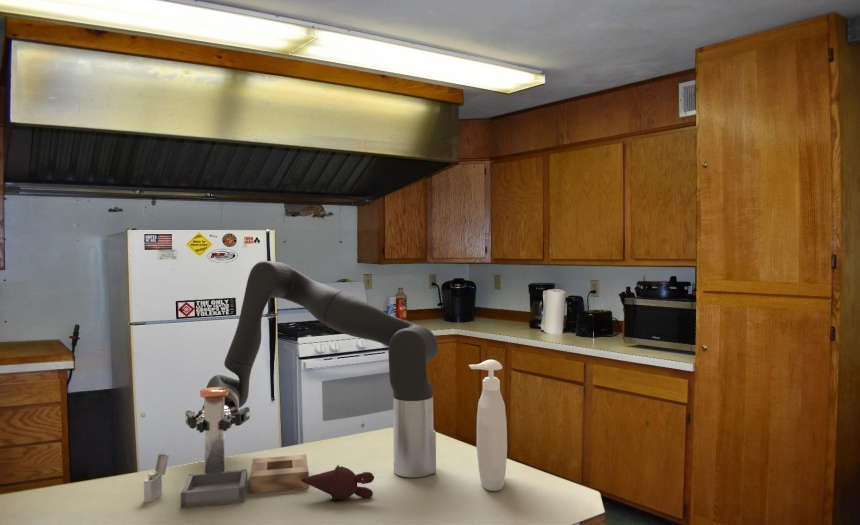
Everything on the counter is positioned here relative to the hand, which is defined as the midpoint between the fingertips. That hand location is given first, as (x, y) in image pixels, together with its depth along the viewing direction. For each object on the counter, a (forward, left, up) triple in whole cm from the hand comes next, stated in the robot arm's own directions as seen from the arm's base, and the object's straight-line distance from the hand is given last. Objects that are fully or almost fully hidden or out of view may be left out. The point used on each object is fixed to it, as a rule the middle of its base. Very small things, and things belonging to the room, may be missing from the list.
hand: (213, 426), depth 124 cm
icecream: (-25, +6, -15) cm, 30 cm away
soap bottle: (-57, +6, -15) cm, 59 cm away
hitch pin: (0, -3, -10) cm, 10 cm away
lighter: (+12, -6, -15) cm, 20 cm away
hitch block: (-13, -8, -15) cm, 21 cm away
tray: (0, -3, -15) cm, 15 cm away
